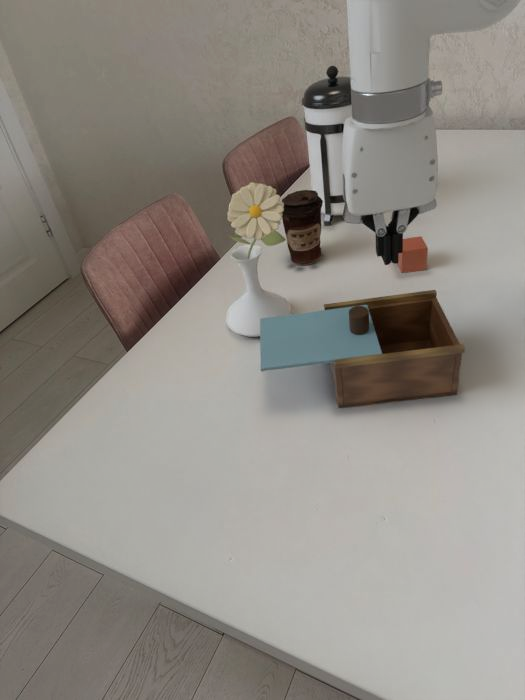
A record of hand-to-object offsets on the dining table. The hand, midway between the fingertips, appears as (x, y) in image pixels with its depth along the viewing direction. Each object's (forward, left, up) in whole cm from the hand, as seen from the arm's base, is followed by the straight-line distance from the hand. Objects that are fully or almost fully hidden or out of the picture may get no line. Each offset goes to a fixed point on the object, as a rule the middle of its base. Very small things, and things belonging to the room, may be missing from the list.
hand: (389, 258), depth 63 cm
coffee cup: (+9, -34, -18) cm, 40 cm away
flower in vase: (+18, -14, -18) cm, 29 cm away
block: (-10, -26, -18) cm, 33 cm away
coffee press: (-1, -52, -18) cm, 55 cm away
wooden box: (0, +2, -18) cm, 18 cm away
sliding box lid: (+10, +2, -10) cm, 14 cm away
